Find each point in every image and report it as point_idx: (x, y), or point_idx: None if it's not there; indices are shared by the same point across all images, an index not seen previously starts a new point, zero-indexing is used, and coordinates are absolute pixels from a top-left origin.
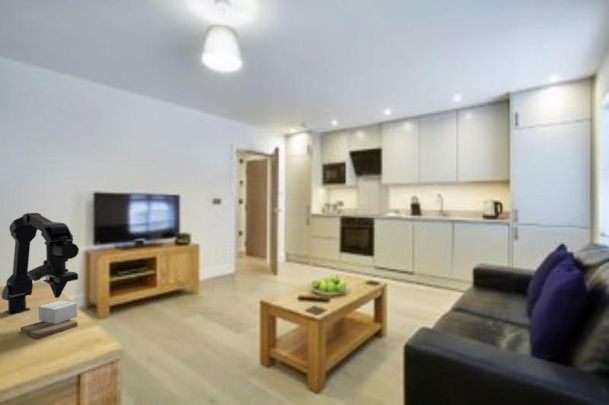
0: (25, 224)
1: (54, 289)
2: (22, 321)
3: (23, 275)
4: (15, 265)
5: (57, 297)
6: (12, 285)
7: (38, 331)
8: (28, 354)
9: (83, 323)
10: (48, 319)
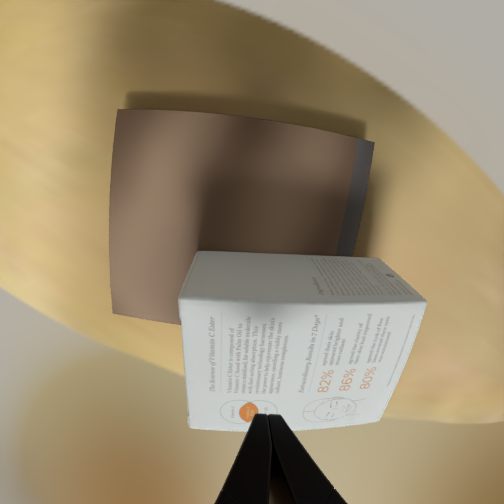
0: None
1: (245, 499)
2: (479, 249)
3: None
4: None
5: (252, 421)
6: None
7: (171, 131)
8: (24, 31)
9: (135, 335)
10: (275, 260)
